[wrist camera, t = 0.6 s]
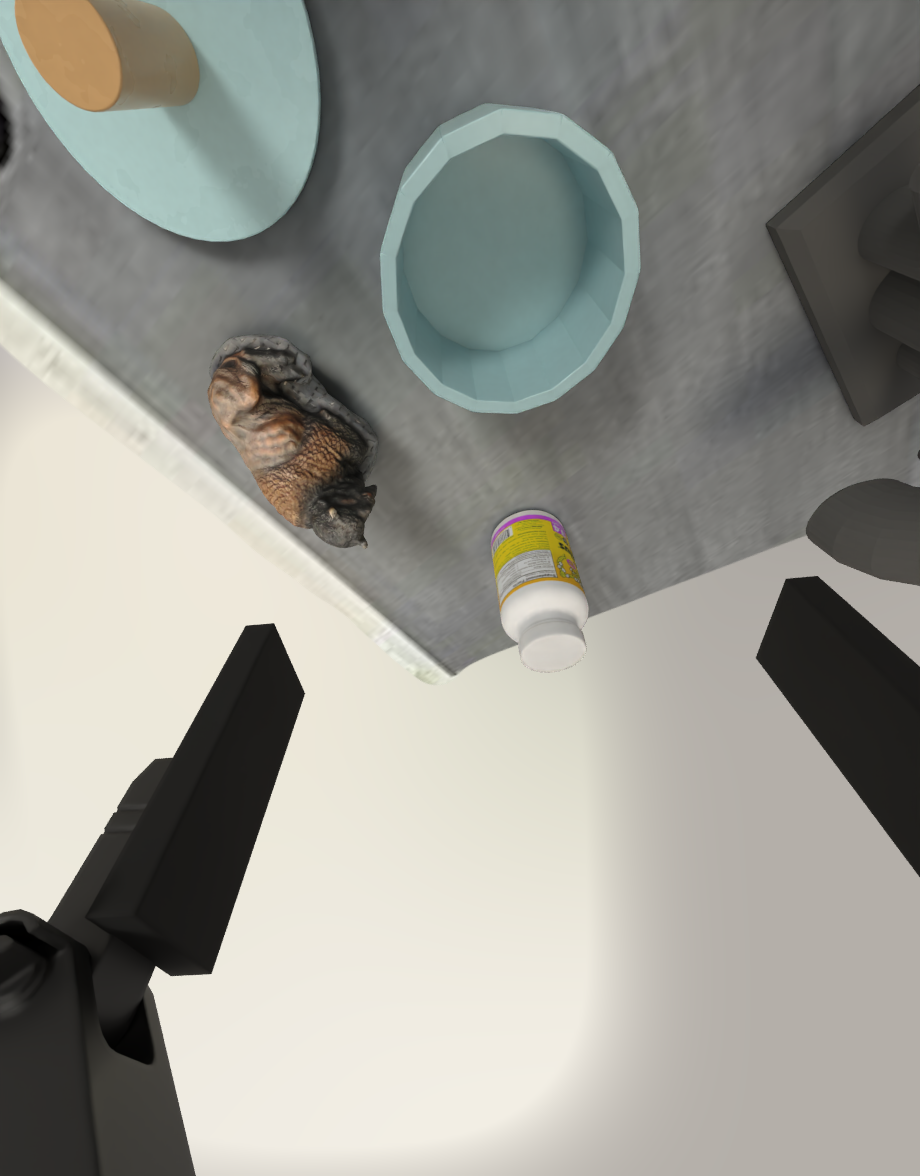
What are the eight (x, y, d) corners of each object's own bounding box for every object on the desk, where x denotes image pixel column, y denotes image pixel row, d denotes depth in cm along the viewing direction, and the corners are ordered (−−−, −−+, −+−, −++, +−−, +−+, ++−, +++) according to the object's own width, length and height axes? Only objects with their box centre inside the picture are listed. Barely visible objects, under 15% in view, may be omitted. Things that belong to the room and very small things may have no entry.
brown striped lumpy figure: (200, 373, 30) (133, 458, 23) (262, 290, 27) (205, 360, 20) (347, 488, 37) (329, 579, 30) (410, 433, 34) (406, 522, 27)
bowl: (443, 40, 20) (448, 24, 15) (641, 190, 24) (698, 218, 19) (362, 306, 28) (348, 355, 22) (525, 387, 32) (544, 445, 26)
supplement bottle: (566, 555, 43) (601, 672, 35) (496, 568, 44) (513, 686, 36) (561, 498, 39) (601, 618, 30) (483, 514, 39) (499, 636, 31)
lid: (-50, -368, 14) (-402, -702, 8) (358, -50, 18) (325, -115, 12) (20, 149, 22) (-129, 172, 16) (291, 283, 26) (253, 339, 21)
